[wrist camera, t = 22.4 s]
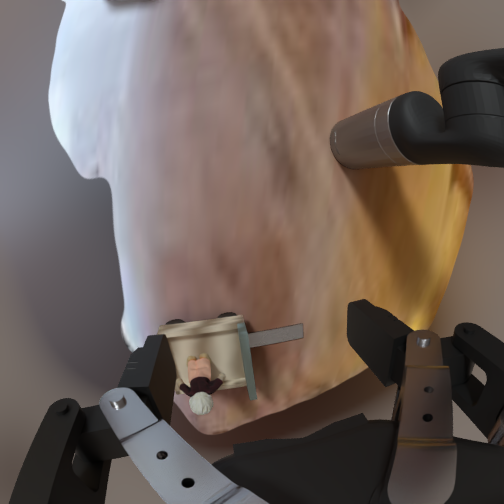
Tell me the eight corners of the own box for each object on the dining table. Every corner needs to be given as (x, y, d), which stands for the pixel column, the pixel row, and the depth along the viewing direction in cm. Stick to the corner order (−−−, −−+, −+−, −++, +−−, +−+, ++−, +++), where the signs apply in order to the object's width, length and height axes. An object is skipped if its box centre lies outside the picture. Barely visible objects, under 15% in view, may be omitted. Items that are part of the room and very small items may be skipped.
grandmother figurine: (186, 374, 45) (183, 425, 32) (176, 358, 44) (169, 409, 31) (226, 361, 45) (233, 412, 33) (217, 344, 44) (222, 394, 32)
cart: (240, 309, 47) (248, 335, 38) (249, 368, 50) (257, 399, 42) (161, 319, 46) (153, 347, 37) (178, 377, 49) (175, 409, 40)
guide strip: (302, 323, 50) (302, 323, 50) (302, 336, 51) (303, 337, 50) (162, 344, 47) (162, 345, 46) (166, 357, 47) (166, 358, 47)
